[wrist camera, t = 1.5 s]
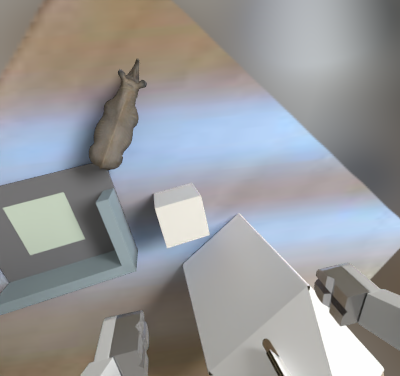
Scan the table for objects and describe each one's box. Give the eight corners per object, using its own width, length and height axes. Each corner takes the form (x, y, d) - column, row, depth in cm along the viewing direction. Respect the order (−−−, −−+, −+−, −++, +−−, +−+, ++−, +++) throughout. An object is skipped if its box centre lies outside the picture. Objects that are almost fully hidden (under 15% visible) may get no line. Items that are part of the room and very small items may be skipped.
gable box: (180, 263, 37) (256, 595, 11) (237, 211, 37) (454, 434, 11) (252, 321, 46) (392, 591, 20) (299, 279, 45) (508, 499, 19)
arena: (137, 250, 35) (136, 270, 30) (16, 288, 32) (-6, 317, 27) (104, 160, 30) (96, 167, 25) (-44, 196, 27) (-84, 212, 22)
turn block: (200, 216, 36) (209, 235, 30) (164, 227, 35) (167, 248, 29) (192, 182, 34) (200, 195, 28) (153, 193, 33) (154, 208, 27)
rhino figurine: (156, 73, 28) (159, 62, 22) (121, 171, 31) (115, 182, 25) (125, 57, 27) (119, 40, 21) (90, 160, 29) (77, 170, 24)
